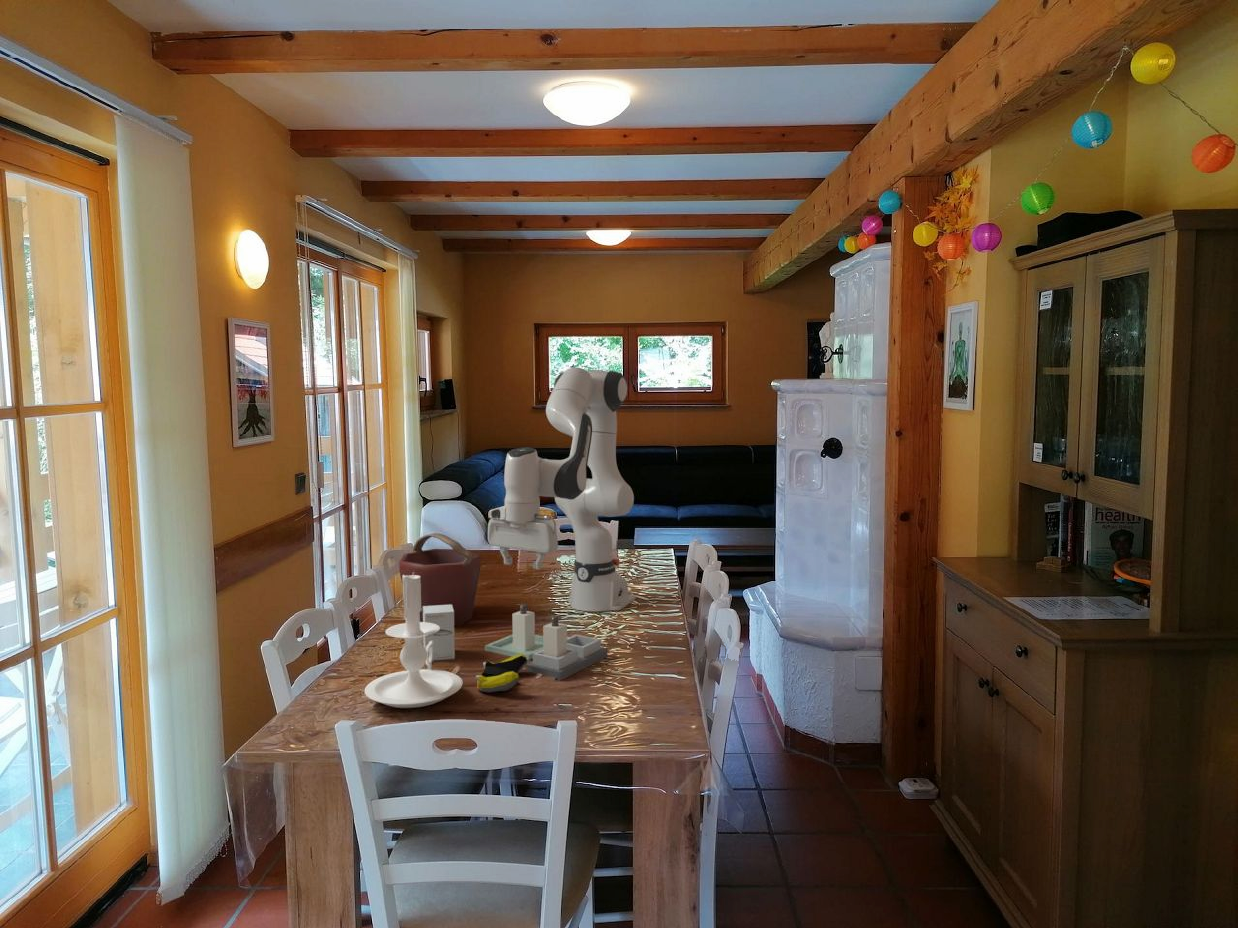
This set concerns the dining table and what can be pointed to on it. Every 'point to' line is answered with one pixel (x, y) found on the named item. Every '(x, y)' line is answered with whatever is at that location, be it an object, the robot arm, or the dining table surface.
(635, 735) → the dining table surface
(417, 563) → the bucket
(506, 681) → the yellow black curved piece
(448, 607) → the supplement box
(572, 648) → the grey socket base
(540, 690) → the dining table surface
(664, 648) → the dining table surface
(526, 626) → the plug
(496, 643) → the tray
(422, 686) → the candlestick
